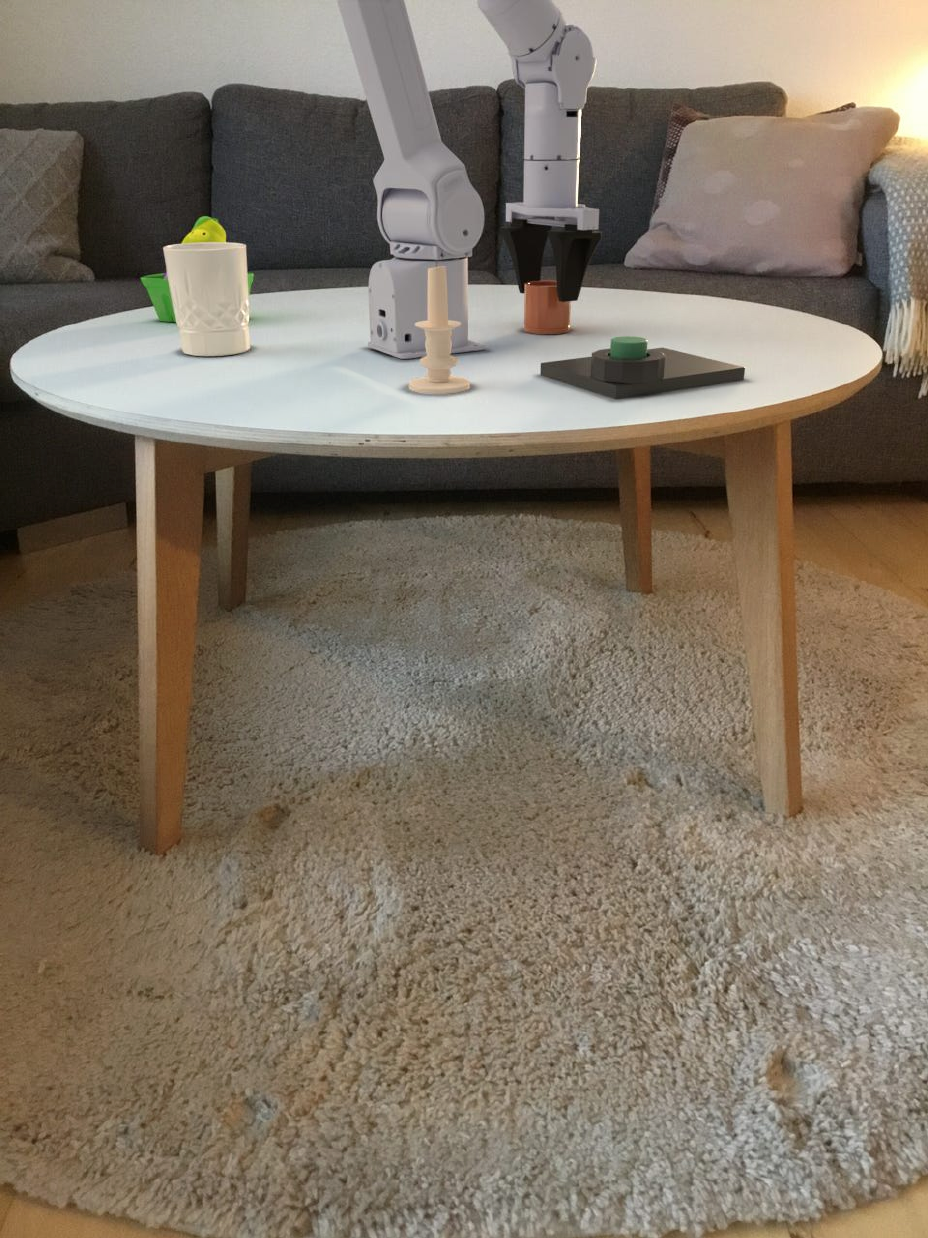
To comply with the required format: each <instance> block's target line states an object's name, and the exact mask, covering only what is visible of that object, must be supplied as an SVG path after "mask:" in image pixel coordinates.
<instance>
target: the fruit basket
mask: <svg viewBox="0 0 928 1238" xmlns="http://www.w3.org/2000/svg"><path fill="white" fill-rule="evenodd" d="M203 242H227V234H226V230H225V229H224V228H223V226H222V225H221V224H220V223H219V220H218V218H215V217H213V218H212V217H210V216H207V215H203V216H201V217H199V218H198V219H197V221H196V222H195V223H194V226H193V228H192V229H191V231H190V232H188V233H187V234H186V236H185V237H184V238H183V239H182V241H181V243H180V244H184V243H203ZM254 276H255V273H253V272H248V290H249V296H250V294H251V288H252V283H253V281H254ZM140 280H141V283H142V284H143V287H145V289H146V291H147V294H148V296H149V299H150V300H151V303H152V306H153V308H154V311H155V313H156V316H157V318H158V320H159V321H160V322H169V323H170V322H171V323H176V319H175V313H174V308H173V302H172V297H171V293H170V287H169V281H168V275H167V269H166V270H165V272H164V273H156V274H149V275H148V274H147V275H145V276H142V277H140Z"/></svg>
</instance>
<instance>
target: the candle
mask: <svg viewBox="0 0 928 1238" xmlns="http://www.w3.org/2000/svg"><path fill="white" fill-rule="evenodd" d="M460 325H461V323H460V322H458V321H451V320H448V305H447V280H446V267H445V266H441V267H437V260H436V267H434V268H429V269H428V321H420V322H417V323H415V326H417V327H419V328H422V329H424V330H425V336H426V342H425V347H426V353H427V356H425V357H420V359H419V365H420V366H421V367H423V368H425V369H427V372H426V375H427V376H420V377H415V378H413V379H411V380H410V381H409V382H408V389H409V390H410V391H411V392H415V393H418V394H425V395H428V394H429V395H446V394H447V395H449V394H450V395H451V394H457V393H458V394H459V393H462V392H465V391H468V390H469V389H470V385H471V384H470V380H468V379H467V378H465V377H460V376H455V375H452V371H451V368H453V367H456V366H457V365H458V364H459V363H458V362H459V361H458V360H459V359H458V358H457V357H455V356H453V355H451V347H452V342H451V339H450V337H451V334H452V333H451V330H452V329H454V328H456V327H458V326H460Z"/></svg>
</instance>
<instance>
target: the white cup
mask: <svg viewBox="0 0 928 1238" xmlns="http://www.w3.org/2000/svg"><path fill="white" fill-rule="evenodd" d="M162 250H163V256H164V262H165V269H166V270H167V275H168V281H169V287H170V293H171V297H172V302H173V308H174V313H175V319H176V322H175V323H176V326H177V327H178V333H179V334H178V335H179V341H180V348H181V351H182V353H184V354H185V355H189V356H198V357H223V356H231V355H236V354H237V355H238V354H242V353H245V352H247V351H249V350H250V349H251V336H250V326H249V321H250V305H249V303H250V295H249V290H248V273H249V272H248V257H247V255H248V254H247V244H246V243H240V242H229V241H226V242H203V243H184V244H181V243H175V244H168V245H165V246H163V247H162Z"/></svg>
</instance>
